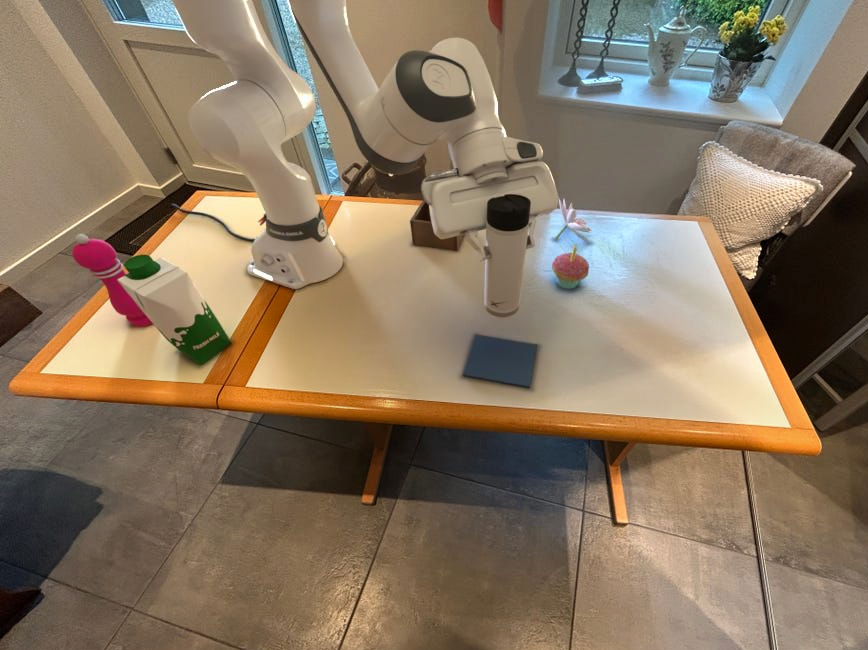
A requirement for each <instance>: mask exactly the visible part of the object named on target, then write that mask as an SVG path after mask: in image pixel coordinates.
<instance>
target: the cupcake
mask: <svg viewBox="0 0 868 650" xmlns="http://www.w3.org/2000/svg"><path fill="white" fill-rule="evenodd" d="M577 249H578V246H577V243H575V244H574V246H573V250H572V252H565V253H562V254H560V255H557V256H555V258H554V259H553V261H552V264H551V270H552V272H553V274H555V276H556V280H557V284H558V285H559V287H561V288H563V289H566V290H573V289H575V288H576V287H578V285H579V283H580V282H581V281H582V280H584V279H585V278H586V277H588V275H589V272H590V271H589V270H590V264H589V262H588V260H587V259H586V258H585V257H583V256H581V255H580V254H578V253H577Z"/></svg>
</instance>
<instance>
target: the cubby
mask: <svg viewBox="0 0 868 650" xmlns="http://www.w3.org/2000/svg"><path fill="white" fill-rule="evenodd" d="M409 224H410V232H411V233H410V234H411V239H412V245H413V246H420V247H426V248H434V249H441V250H448V251H454V252H455V251H456V252H458V250H459V248H460V246H461V243H462V241H463V239H464V237H465V234H463V235H459V236H454V237H450V238H446V239H440V238H439V237H437V236H436V235H435V234H434V230H433V226H432V222H431V216H430V209H429V204H427V203H426V201H425V200H424V198H423V199H422V200H421V202H420V204H419V205H418V207H417V208H416V210H415V212H414V213H413V215H412V217H411V218H410V220H409Z"/></svg>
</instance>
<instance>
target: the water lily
mask: <svg viewBox="0 0 868 650" xmlns="http://www.w3.org/2000/svg"><path fill="white" fill-rule="evenodd" d="M558 205H559V209H560V213H561V216H562V218H563V220H564V223H565V226H563V228H562V229H561V230H560V231H559V232H558V234H557V235H556V236H555V238H554V240H556V241H557V240H558V239H559V237H560V236H561V235H562V233H564V232H565V230H566V229H567V228H568V229H569V230H570V231H571V232H572V233H573V234H574V235H576V237H578V238H579V239H581V240H582V241H584V242H585V243H588V244H591V242H590V241H589V240H588V238H586V237H585V236H584V235H582V233H591V232H592V229H591V228H590V227H589V226H586V225H587V224H588V222H587V221H585V219H584V218H582V217H577V210H576V209H574V207H573V202H572V201H571V202H570V205H569V207H568V209H567V205H566V199H563V203H562V201H561V198H559V202H558ZM567 210H568V211H567ZM579 232H581V233H579Z"/></svg>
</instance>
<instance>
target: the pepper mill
mask: <svg viewBox="0 0 868 650" xmlns="http://www.w3.org/2000/svg"><path fill="white" fill-rule="evenodd" d="M74 240H75V241H76V244H75V245H74V246H73V248H72V252H71V254H72V258H73V259H74V261H75V262H76V263H77V264H78V265H79V266H80V267H82V268H85V269H88V272H89V273H90V274H91V275H92V277H94V278H95V279H99V280H100V281H101V282H102V283H103V285H104V287H105V288H106V291H107V294H108V298H109V301H110V305H111V306H112V308H113V310H114V311H115V312H116V313H117V314H119V315H122V316H124V317H125V318H126V320H127V321H128V322H129V323H130V324H131V325H132V326H134V327H141V328H142V327H147V326H150V325H152V324H153V323H152V322H151V321H150V319H149V318H148V317H147V316H146V315H145V313H144V312H143V311H142V310H141V309H140V307H139V306H138V305H137V304H136V302H135V301H134V300H133V299H132V297H131V296H130V295H129V294H128V293H127V292H126V290H125V289H124V288H123V286H122V285H121V284H120V283H119V281H118V279H119V278H121V277H124V275H126V274H127V273H126V271H125V270H124V263H121V261H120V259H118V258H117V251H116V250H115V248H114V247H113V246H112V245H111V244H110V243H109V242H106V241H104V240H102V239H98V238H89V237H88V236H87V235H86V234H83V233H78V234H76V235H75V237H74ZM153 325H154V324H153Z"/></svg>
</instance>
